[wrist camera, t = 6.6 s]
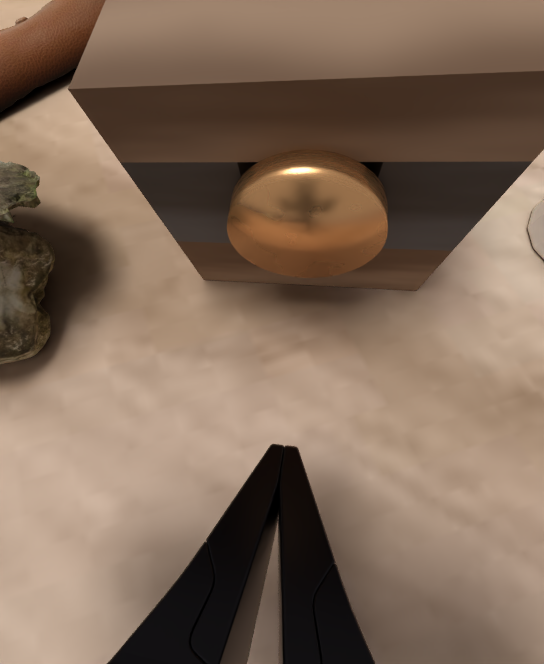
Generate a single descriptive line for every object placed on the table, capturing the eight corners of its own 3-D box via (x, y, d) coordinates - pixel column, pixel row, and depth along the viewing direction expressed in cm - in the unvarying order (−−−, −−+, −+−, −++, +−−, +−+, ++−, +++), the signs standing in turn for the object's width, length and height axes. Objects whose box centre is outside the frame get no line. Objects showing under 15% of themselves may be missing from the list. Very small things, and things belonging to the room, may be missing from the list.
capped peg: (366, 280, 14) (414, 180, 8) (243, 274, 15) (204, 179, 9) (369, 104, 18) (405, -60, 12) (268, 106, 19) (252, -45, 12)
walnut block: (416, 290, 18) (616, 67, 7) (203, 279, 20) (68, 88, 8) (410, 143, 21) (537, -175, 10) (229, 145, 23) (157, -123, 12)
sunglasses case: (112, 3, 30) (84, -73, 24) (153, 71, 32) (137, 17, 26) (-43, 84, 29) (-116, 26, 23) (8, 151, 31) (-46, 115, 24)
